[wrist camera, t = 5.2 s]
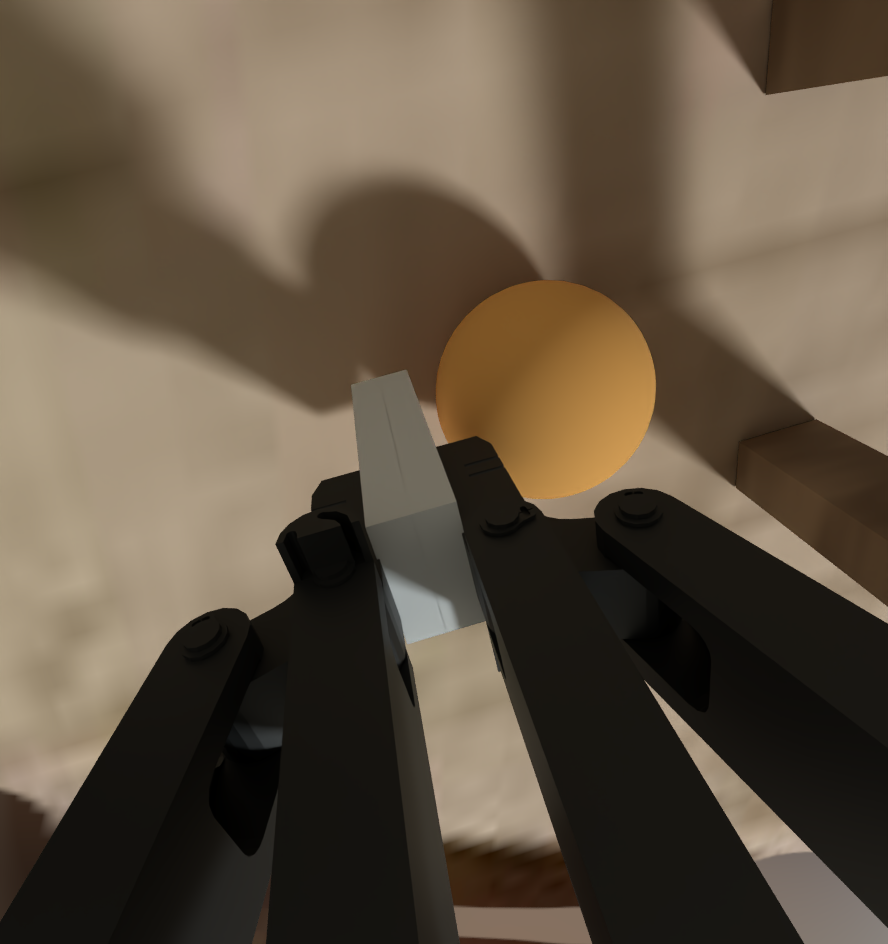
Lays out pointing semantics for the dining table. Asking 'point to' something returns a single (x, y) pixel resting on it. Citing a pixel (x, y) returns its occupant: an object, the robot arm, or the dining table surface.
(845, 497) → the bridge
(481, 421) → the ball
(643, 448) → the dining table surface
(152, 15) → the dining table surface
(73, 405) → the dining table surface
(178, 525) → the dining table surface
